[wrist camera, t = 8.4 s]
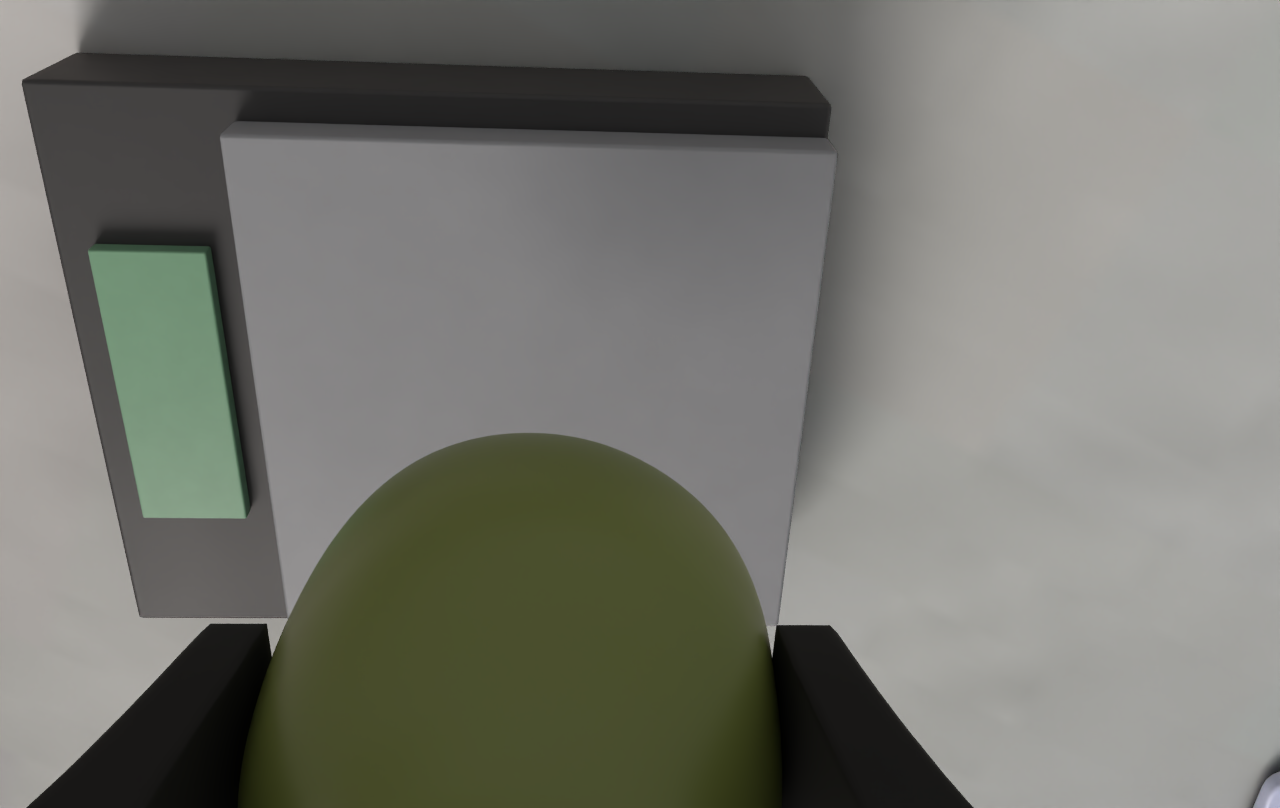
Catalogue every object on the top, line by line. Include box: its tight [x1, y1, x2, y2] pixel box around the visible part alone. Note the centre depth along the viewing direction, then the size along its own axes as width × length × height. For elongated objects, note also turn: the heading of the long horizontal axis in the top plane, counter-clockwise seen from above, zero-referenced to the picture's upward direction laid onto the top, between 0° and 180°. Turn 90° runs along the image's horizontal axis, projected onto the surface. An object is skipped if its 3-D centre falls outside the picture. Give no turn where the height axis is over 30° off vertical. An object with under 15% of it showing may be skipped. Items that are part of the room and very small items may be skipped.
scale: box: [22, 53, 838, 626], centre depth 19 cm, size 12×10×3 cm
